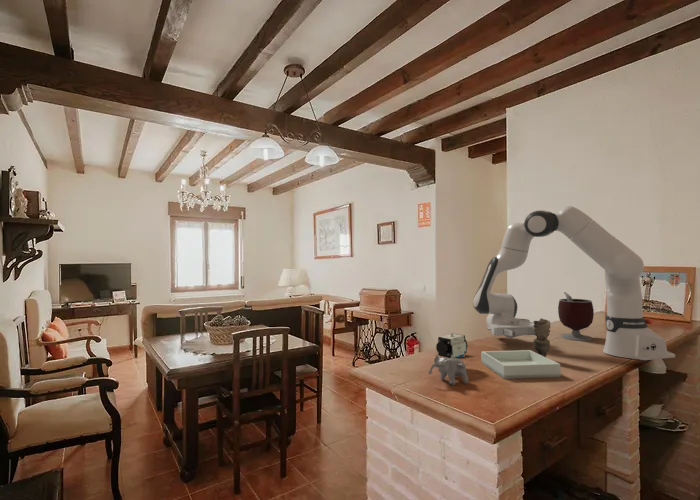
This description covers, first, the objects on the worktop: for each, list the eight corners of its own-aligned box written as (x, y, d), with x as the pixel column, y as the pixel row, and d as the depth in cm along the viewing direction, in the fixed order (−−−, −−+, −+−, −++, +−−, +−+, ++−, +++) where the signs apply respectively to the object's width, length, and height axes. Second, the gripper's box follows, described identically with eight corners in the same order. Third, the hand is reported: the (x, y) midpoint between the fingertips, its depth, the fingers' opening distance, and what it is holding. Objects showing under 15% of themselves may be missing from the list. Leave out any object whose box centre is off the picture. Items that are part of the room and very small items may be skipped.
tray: (530, 361, 137) (530, 350, 137) (560, 377, 119) (560, 364, 119) (481, 362, 136) (481, 351, 136) (503, 378, 118) (503, 365, 118)
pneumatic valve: (436, 370, 128) (435, 334, 128) (456, 363, 135) (455, 329, 136) (449, 374, 124) (449, 336, 124) (470, 367, 131) (469, 331, 131)
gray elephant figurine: (473, 383, 115) (473, 357, 116) (448, 390, 108) (448, 363, 108) (447, 376, 122) (448, 352, 123) (423, 383, 115) (423, 357, 115)
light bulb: (550, 358, 140) (549, 317, 140) (552, 362, 135) (551, 320, 135) (533, 357, 142) (532, 317, 142) (535, 361, 137) (534, 319, 137)
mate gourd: (601, 341, 167) (600, 295, 167) (569, 341, 167) (568, 295, 168) (580, 333, 183) (579, 291, 183) (551, 334, 183) (550, 292, 183)
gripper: (484, 320, 164) (499, 326, 150) (531, 319, 165) (549, 324, 151) (485, 334, 164) (499, 342, 150) (531, 333, 165) (550, 340, 151)
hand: (525, 333), depth 150 cm, fingers open, 8 cm apart
